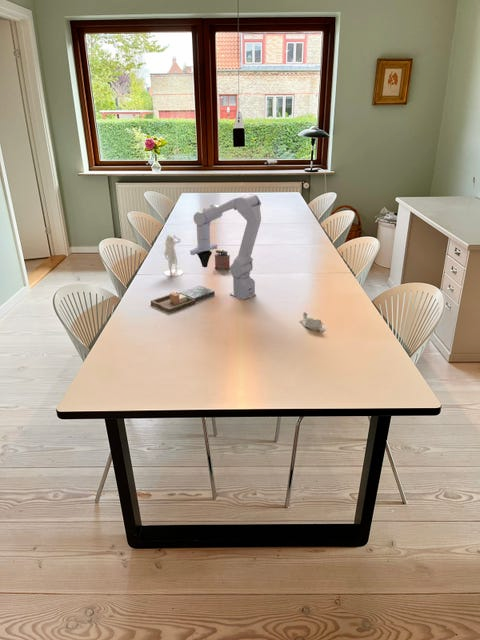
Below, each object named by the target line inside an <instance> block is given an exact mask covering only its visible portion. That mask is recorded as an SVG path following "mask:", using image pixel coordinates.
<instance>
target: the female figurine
mask: <svg viewBox="0 0 480 640" xmlns="http://www.w3.org/2000/svg"><path fill="white" fill-rule="evenodd" d="M175 239H176V240H177V241H176V240H175ZM181 241H182V240H181V238H179V237H177V236H176V235H175V234H173V236H172V235H171V234H168V235H167V236H166V240H165V242H164V245H165V250H164V249H162V250H163V251H162V252H163V254H164V257H165V259H166V261H167V262H168V270H166V271H164V273H163V274H164V275H165V276H168V277H177V276H181V275H183V274H184V271H183V270H182V269H178V267H177V266H178V258H177V253H176V250H175V245H176V244H179V243H181ZM173 265H174V269H172V268H173Z"/></svg>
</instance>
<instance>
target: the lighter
mask: <svg viewBox="0 0 480 640" xmlns="http://www.w3.org/2000/svg"><path fill="white" fill-rule="evenodd" d="M230 257H231V255H230V254H228V251H227V250H224V249H222V250H221V249H215V254H214V269H215V270H216V271H230V266H231V265H230V263H231V262H230V259H231V258H230Z"/></svg>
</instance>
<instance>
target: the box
mask: <svg viewBox="0 0 480 640" xmlns="http://www.w3.org/2000/svg"><path fill="white" fill-rule="evenodd" d="M175 293H177V294H179V295H180V293H179V292H175ZM196 303H197V302H196V300H194V299H192V298H190V297H187V301H185V302H182V303H179V304H174V303H171V302H170V294H167V295H164V296H161V297H157V298H155V299H152V300H150V305H151V306H153V307H156V308H157V309H159V310H161V311H164V312H166V313H168V314H171V313H174V312H176V311H177V312H178V311H179V310H183V309H185V308H189V307H190V306H193V305H196Z"/></svg>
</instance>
